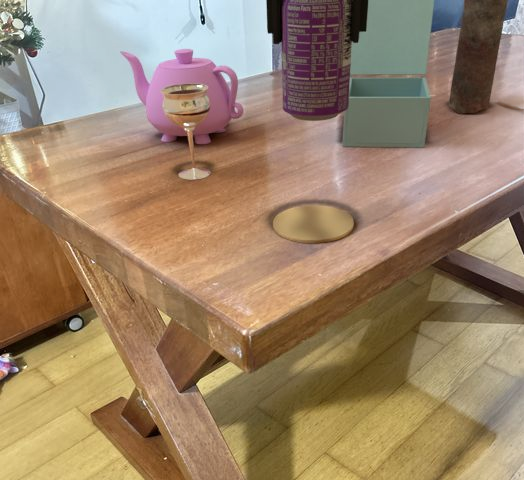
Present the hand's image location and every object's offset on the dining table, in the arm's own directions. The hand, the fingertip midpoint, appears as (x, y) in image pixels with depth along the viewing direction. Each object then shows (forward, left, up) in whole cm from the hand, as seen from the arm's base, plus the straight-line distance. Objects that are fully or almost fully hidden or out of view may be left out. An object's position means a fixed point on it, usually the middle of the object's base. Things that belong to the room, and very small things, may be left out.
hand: (316, 39), depth 55 cm
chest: (-26, -28, -20) cm, 43 cm away
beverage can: (0, 0, -7) cm, 7 cm away
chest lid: (-30, -36, -5) cm, 47 cm away
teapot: (+5, -44, -20) cm, 49 cm away
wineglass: (+9, -24, -20) cm, 33 cm away
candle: (-48, -34, -20) cm, 62 cm away
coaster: (0, 0, -20) cm, 20 cm away
